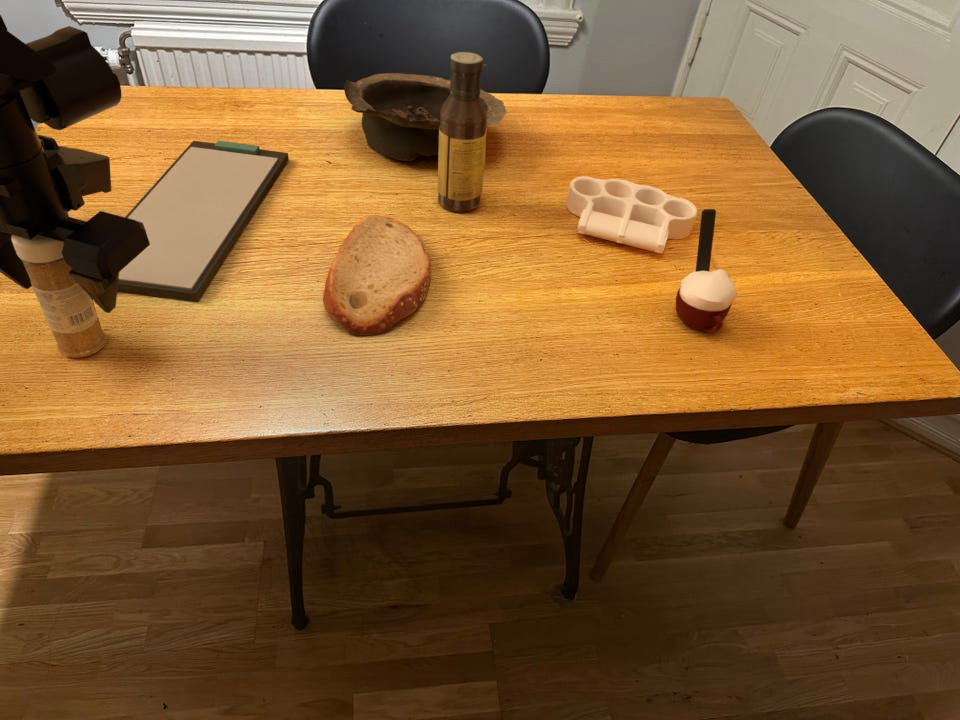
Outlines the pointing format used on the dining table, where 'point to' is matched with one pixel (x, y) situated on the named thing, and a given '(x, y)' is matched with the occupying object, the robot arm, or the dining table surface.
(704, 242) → the cocoa
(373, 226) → the slice of bread
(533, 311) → the dining table surface
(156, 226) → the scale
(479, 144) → the sauce bottle
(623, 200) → the knuckle duster
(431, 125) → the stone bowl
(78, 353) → the sprinkles bottle
